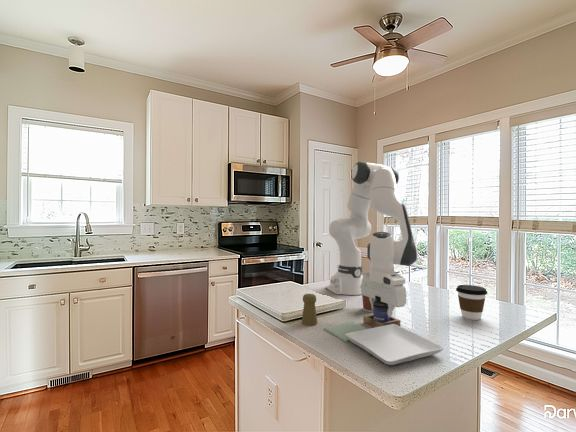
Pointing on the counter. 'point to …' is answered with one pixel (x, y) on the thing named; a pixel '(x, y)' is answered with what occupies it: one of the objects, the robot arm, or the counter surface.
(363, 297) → the coffee cup
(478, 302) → the coffee cup
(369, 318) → the walnut collar
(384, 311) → the pill bottle
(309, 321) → the cork
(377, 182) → the robot arm
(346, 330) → the sage mat
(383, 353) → the salad plate
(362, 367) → the counter surface
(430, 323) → the counter surface
